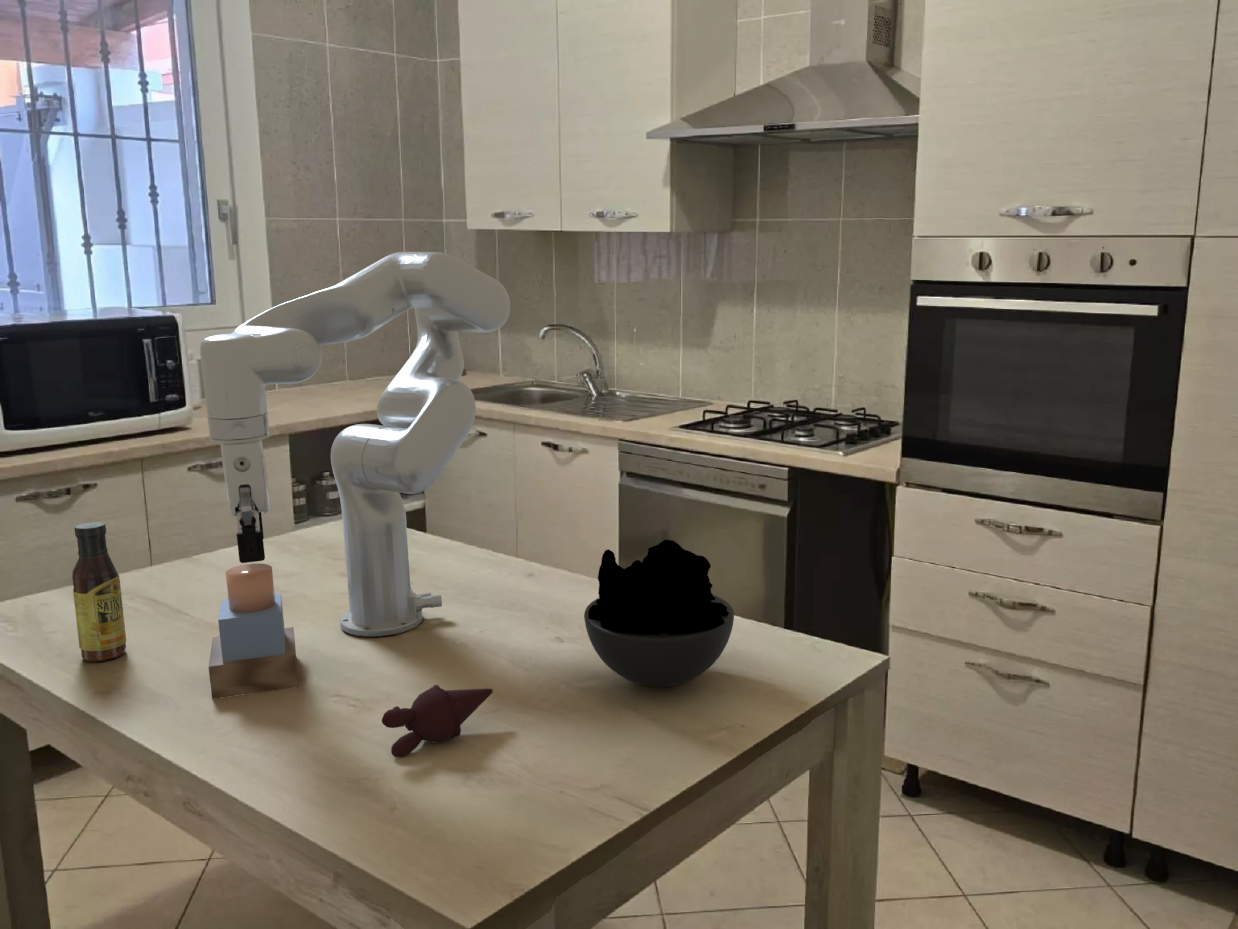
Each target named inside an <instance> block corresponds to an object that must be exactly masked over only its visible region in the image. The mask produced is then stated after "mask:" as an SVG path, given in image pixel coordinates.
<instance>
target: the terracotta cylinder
mask: <svg viewBox="0 0 1238 929" xmlns="http://www.w3.org/2000/svg"><path fill="white" fill-rule="evenodd" d="M273 574H274V573H273V566H272V565H270V564H268V563H260V562H259V563H257V562H256V563H255V562H253V563H244V564H240V565H236V566H233V567H231V568H229V569H227V570H226V571H225V579H226V581H225V582H226V592H227V600H228V601H229V609H230V610H231V611H234V612H239V613H249V612H257V611H261V610H265V609H268V608H270V607H272V606H273V605H274V604H275V594H276V593H275V585H274V583H275V582H274V575H273Z"/></svg>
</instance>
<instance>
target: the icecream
mask: <svg viewBox="0 0 1238 929" xmlns="http://www.w3.org/2000/svg"><path fill="white" fill-rule="evenodd" d="M493 693H494V691H493V688H490V687H489V688H485V687H484V688H470V689H469V688H468V689H451V690H450V689H449V690H446V689H443V688H442V687H440V685H439V684H433V686H431V687H430V688H429V689H426V690H425V691H423V692H421V693H420V694H418V695H417V697H416V698H415V699H414V700H413V701H412V705H411V708H407V707H402V708H400V706H399V705H398V706H397V705H396V706H394V707H393V708H391V709H389V710H387V711H385V713H383V716H382V718H381V723H382V725H384V726H385V727H386V728H391V729H394V728H395V729H396V728H403V727H405V728H406V729H407V731H409V732H408V733H406V734H404V735H403V736H400V737H399V738H398V739H397V740H396V741H394V743H393V744H392V746H391V748H390V752H391V755H392V756H393V757H394V758H402V757H404V756H407V755H409V754H410V753H412V752H413V751H415V750H416V748H417V747H418V746H419V745H420V743H421V742H422V741H425V742H428V743H439V744H440V743H443V742H446V741H449V740H450V739H454V738H459V736H461V733H462V728H461V726H462V724H463V723H464V722H465V721H466V720H467V719H468V718H469V717H470V716H471V715H472V714H473V713H474V712H475V711H476V710H477V709H478V708H479V707H480V706H481V705H482V704H483V703H484V702H485V701H486V700H487V699H488V698H489V697H490V696H491V695H492V694H493Z"/></svg>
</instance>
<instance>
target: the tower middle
mask: <svg viewBox="0 0 1238 929" xmlns="http://www.w3.org/2000/svg"><path fill="white" fill-rule="evenodd" d="M274 594H275V604H274V605H273V606H272V607H270V608H268V609H265V610H261V611H257V612H249V613H239V612H234V611H231V610H230V609H229V601H228V599H221V600H220V606H219V611H218V612H219V613H218V617H217V618H218V619H217V620H218V630H219V632H218V633H219V636H220V641H221V650H222V660H223V662H229V661H237V660H245V659H252V658H260V657H268V656H276V655H284V654H285V629H284V628H285V620H284V609H283V600H282V597H283V596H282V593H274Z"/></svg>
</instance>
